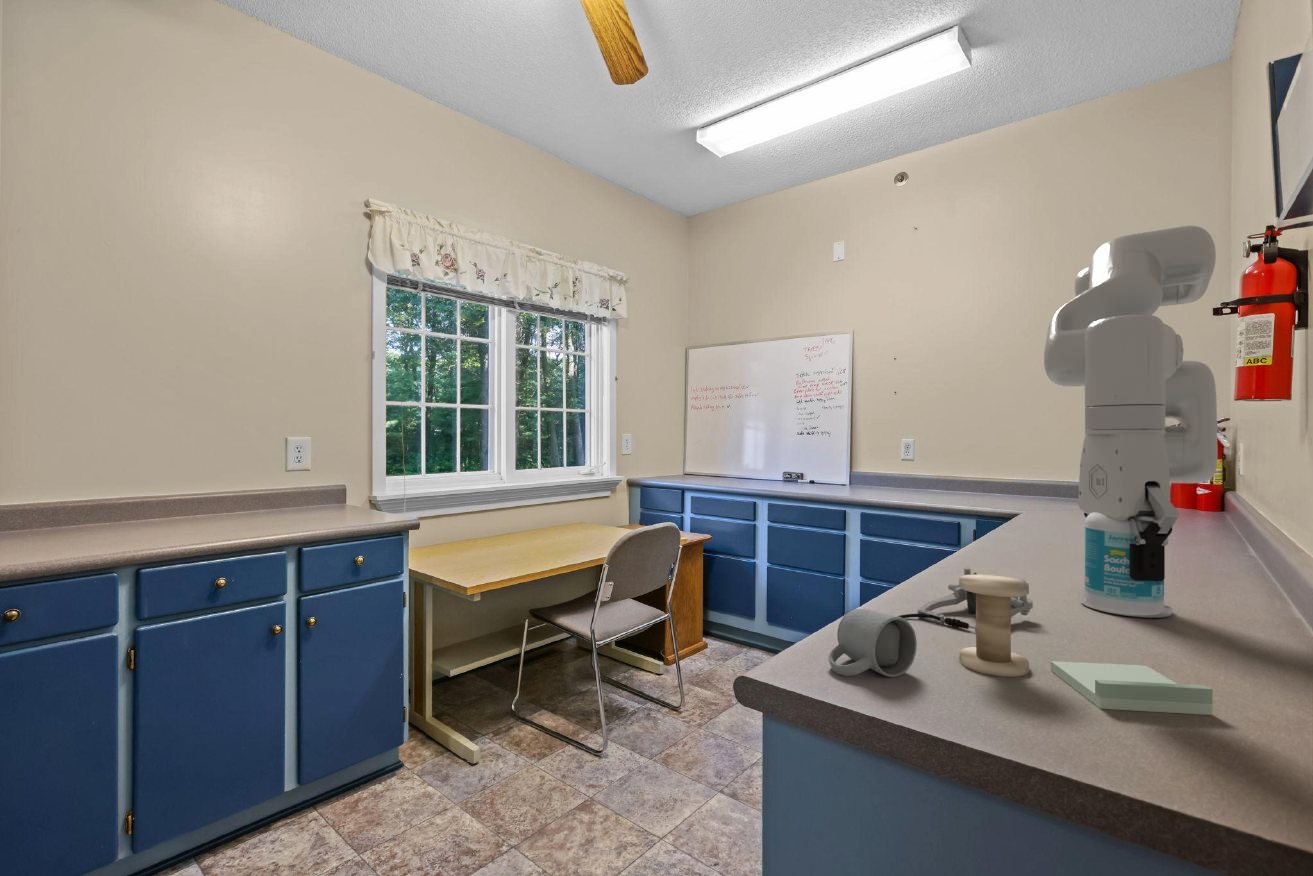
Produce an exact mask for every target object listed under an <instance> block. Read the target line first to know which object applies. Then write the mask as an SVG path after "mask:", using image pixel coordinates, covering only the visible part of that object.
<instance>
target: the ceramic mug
mask: <svg viewBox="0 0 1313 876" xmlns="http://www.w3.org/2000/svg"><path fill="white" fill-rule="evenodd" d="M898 616H899V615H898ZM898 616H897V615H892V614H888V613H883V612H879V611H876V610H871V609H868V608H856V609H851V610H850V611H848V612H847V613H845V615H844V616H843V617H842V618H841V620H840V622H839V624H838V627H837V641H838V644H837V645H836V646H835V647H834V648H832V649H831V651H830V652H829V654H828V661H829V662H828V663H829V664H830V667H831V669H832V671H833V672H834V673H835V674H838V675H839V676H844V677H850V676H858V675H859V674H862V673H863V672H866V671H868V670H869V669H870V670H872V671H874V672H876V673H878V674H880V675H882V676H884V677H888V678H896V677H899V676H902V675H904V674H905V673H906V672H907V671H908V670H909V669H910V668H911V666H912V665H913V663H914V660H915V658H916V654H917V647H918V643H917V642H918V641H917V634H916V632H915V629H914V628H913V626H912V624H911V622H909V621H908V620H906V618H901V617H898ZM842 655H845V656H846V657H848V658H849V659H851V660H853V661H854V662H853V663H849V664H843V665H841V664H838V663H836V661H837V660H839V658H840V657H841V656H842Z"/></svg>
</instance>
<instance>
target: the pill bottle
mask: <svg viewBox="0 0 1313 876" xmlns="http://www.w3.org/2000/svg"><path fill="white" fill-rule="evenodd" d="M1136 516H1148V515H1144V514H1137V515H1136ZM1084 521H1085V522H1084V524H1085V525H1084V594H1085V599H1086V601H1087V602H1088V603H1089V604H1091V605H1092V606H1094V607H1097V608H1100V609H1103V610H1107V611H1111V612H1116V613H1122V614H1130V615H1155V614H1158V613H1160V612H1162V611H1163V608H1164V603H1165V579H1164V580H1163V581H1136V580H1133V579H1131V578H1130V544H1135V542H1134V539H1133V536H1132V533H1131V530H1130V526H1129V522H1128V520H1124V521H1118V520H1113V519H1111V518H1109V517H1107V516H1104V515H1103V514H1100V513H1096V512H1093V513H1090V514H1089V515H1088V516H1087V518H1086V517H1085V519H1084ZM1148 525H1149V524H1141V527H1142V530H1143V531H1144V530H1145V528H1146V527H1147V526H1148Z"/></svg>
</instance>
